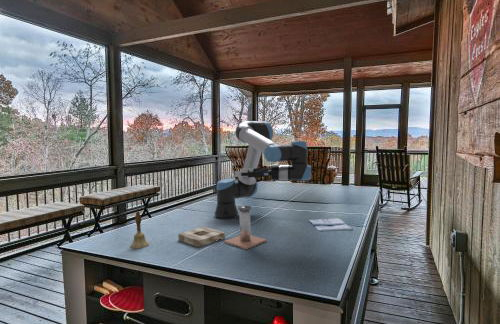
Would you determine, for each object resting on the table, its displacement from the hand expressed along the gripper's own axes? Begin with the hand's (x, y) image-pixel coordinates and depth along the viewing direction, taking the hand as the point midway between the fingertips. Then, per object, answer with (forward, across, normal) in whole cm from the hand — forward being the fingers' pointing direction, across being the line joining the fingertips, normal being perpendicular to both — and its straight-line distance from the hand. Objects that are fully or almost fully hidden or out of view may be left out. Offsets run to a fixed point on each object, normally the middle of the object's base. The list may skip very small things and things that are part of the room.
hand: (238, 172), depth 154 cm
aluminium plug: (-6, -13, -31) cm, 34 cm away
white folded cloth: (-47, +21, -33) cm, 61 cm away
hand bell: (+42, -25, -32) cm, 58 cm away
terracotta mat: (-6, -13, -32) cm, 35 cm away
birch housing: (+16, -12, -32) cm, 38 cm away
